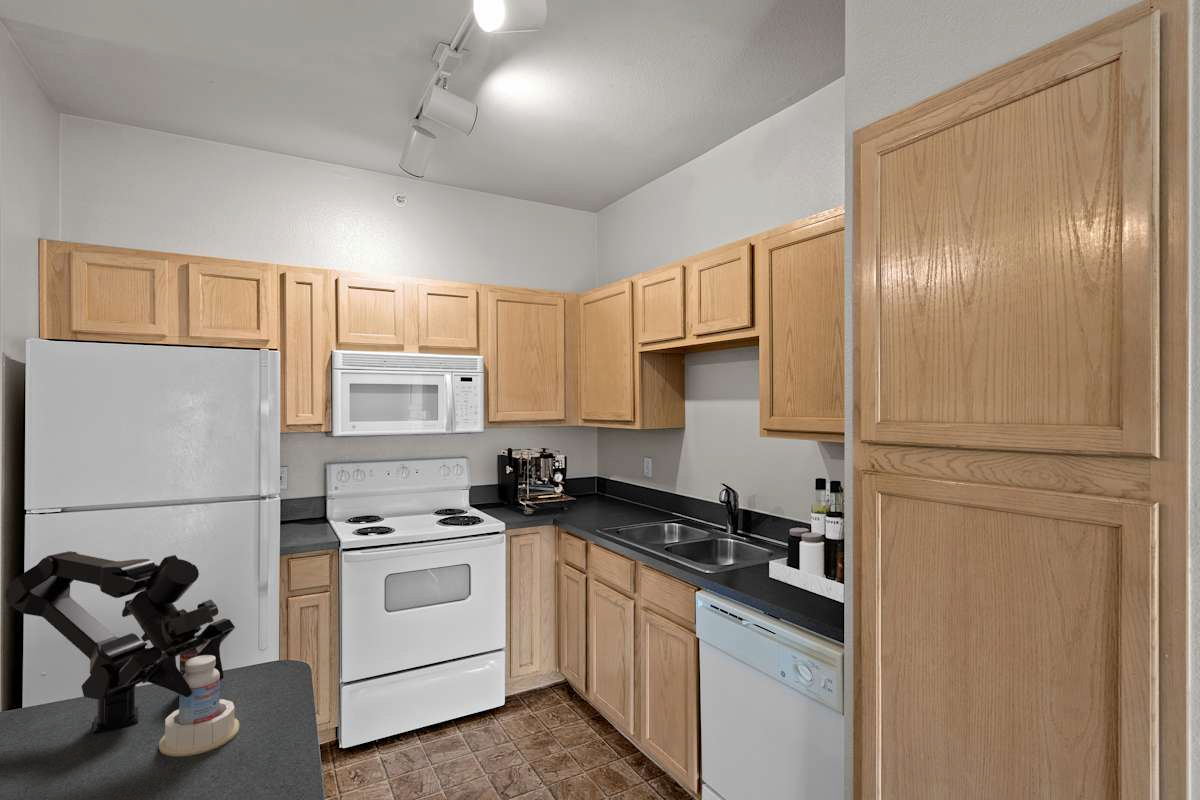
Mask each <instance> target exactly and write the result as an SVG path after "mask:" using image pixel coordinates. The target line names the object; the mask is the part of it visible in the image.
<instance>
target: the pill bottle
mask: <svg viewBox="0 0 1200 800" xmlns="http://www.w3.org/2000/svg"><path fill="white" fill-rule="evenodd" d="M215 664H216V658H215V656H212V655H202V656H197V657H194V658H191V659H189V660H187V661H186V663H185V672H186V674H185V675H183V678H184V679H185V681H186V682H187V684H188V685H189V687H190V689H191V691H192V694H191V695H190V696H189V697H185V696H182V695H180V694H178V695H179V702H178V705H179V706H178V709H179V724H180V725H193V724H199V723H202V722H206V721H210V720H212V719H214V718H216V717H218V716H219V699H220V686H221V682H220V673H219V671H218V670H217V669H215V668H214V667H215Z"/></svg>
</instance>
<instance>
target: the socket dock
mask: <svg viewBox="0 0 1200 800" xmlns="http://www.w3.org/2000/svg"><path fill="white" fill-rule="evenodd" d="M164 722H165V725H164V728H165V729H164V732H165V733H164V735H163V736H162V737H161V738H160V739H159V741H158V742H159V743H158V750H159V751H160V753H161V754H163V755H164V756H166V757H173V758H175V757H176V758H179V757H180V758H182V757H189V756H196V755H200V754H203V753H206V752H210V751H212V750H213V751H214V749H218V748H219V747H222V746H224V745H225V744H226V743H229V742H230V741H232V740H233V739H234V738H235V737H236V736H237V735H238V734H239V732H240V731H239V730H240V721H239V720H238V719H237V718H236V717H235V705H234V702H233V701H231V700H227V699H223V698H219V716H218V717H216V718H214V719H212V720H210V721H206V722H202V723H199V724H193V725H180V724H179V708H178V709H176V710H174V711H172V712H171V713H170V714H169V715H168V716H167V717H166V718H165V719H164Z"/></svg>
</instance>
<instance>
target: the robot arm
mask: <svg viewBox="0 0 1200 800" xmlns="http://www.w3.org/2000/svg"><path fill="white" fill-rule="evenodd" d="M199 575H200V572H199V569H198V567H197V566H196V565H195V564H193V563H192V562H190V561H188V560H185V559H181V558H178V557H177V555H176V554H174V555H173V554H171V555H169V556H166V557H164V558H163V559H162V560H161V562H160V563H159V565H158V564H155V561H153V560H152V559H149V558H138V559H137V558H136V559H127V560H121V561H120V560H119V561H117V560H116V561H115V560H111V559H105V558H101V557H95V556H90V555H85V554H80V553H78V552H76V551H72V550H71V551H65V552H58V553H55V554H54V553H53V554H50V555H47V556H45V557H44V558H42V559H41V560H40V561H39V562H38V563H37V564H36V565H34V566H33V567H31V568H29V569H28V570H26V571H25V572H23V573H21V574H20V575H18V576H17V577H16V578H15V579H14V580H13V581H12V582H11V583H10V585H9V586H8V587H7V588H6V590H5V593H4V596H5V600H6V603H8V604H9V605H10V607H11V608H13V609H15V610H17V611H18V612H20V613H22V615H27V616H28V615H30V616H36V617H41V618H43V619H44V620H45V621H47V622H48V623H49V624H50V625H51V626H52V627H53V628H55V630H57V631H58V632H59V633H60V634H61V635H62V636H63V637H65V639H66V640H68V641H69V642H70V643H71V644H72V645H74V647H76V648H77V649H78V650H79V651H80V652H81V653H83V654H84V655H85V656H86V657H87V658H88V659H89V674H90V675H89V676H88V678H87V679H85V681H84V682H83V683H82V685H81V691H82V695H83V697H84V698H88V699H91V700H92V699H94V700H96V716H95V717H94V720H93V721H94V722H93V734H96V733H97V734H98V733H101V732H104V731H109V730H113V729H117V728H120V727H126V726H128V725H133V724H136V723H138V722H139V707H138V706H136V701H137V698H136V696H137V694H136V692H137V690H136V688H137V685H138V684H141V683H142V684H145V683H150V684H152V685H156V686H158V687H162V688H164V689H167V690H170V691H171V692H173V693H176V694H178V695H179V694H180V695H182V696H185V697H189V696H190V695H191V694H192V691H191V689H190V687H189V685H188V684H187V682H186V681H185V679H184V678H183V676H182V674H181V673H180V669H179V668H178V667H177V660H176V659H177V658H176V657H177V656H180V654H182V653H185V652H187V651H189V650H192V649H194V648H195V649H196V650H197V651H198V653H199V654H198V655H197V656H202V655H212V656H215V658H216V664H215V667H214V668H215V669H217V670H218V671H219V673H220V681H222V680H223V679H224V672H223V665H222V660H221V651H220V647H221V644H222V642H224V640H225V639H227V637H228V636H229V635H230V634H231V633H232V632H233V630H234V629H235V628H236V627H235V624H233V623H234V622H232V621H231V619H229V618H223V619H220V620H217V621H214V617H216V616H217V615H218V614H219V609H218V606H217V604H216V603H215V602H214V601H213V600H212V599H208V600H205V601H202V602H201V603H198V604H197V606H196V607H197V608H196V609H194V610H191V611H187V610H186V609H184V608H182V609H179V610H178V609H177V608H176V606H175V604H174V603H176V602H179V600H180V599H181V598H182V597H183V595H185V593H186V592H187V591H188V590H189V589H190V588H191V587H192V586H193V584H194V583H195V582H196V581H197V580H198V578H199ZM74 581H77V582H82V583H85V584H86V583H87V584H92V585H97V586H98V587H99V589H100V590H99V591H101V593H103V594H105V595H107V596H110V597H112V598H114V599H119V598H122V597H126V596H129V595H133V594H135V595H134V596H133V598H131V599H129V600H126V601H125V602H124V607H123V609H122V613H121V616H122V617H123V618H127V617H128V616H131V615H132V616H133V617H134V619H135V620H136V622H137V624H138V625H139V626H140V628H141V630H142V631H143V632H144V633H143V634H142V636H141V637H140V638H141V639H142V640H141V639H140V638H139V636H138V635H137V634H135V633H132V632H131V633H128V634H125V635H123V636H119V637H118V636H116V635H115V634H114V633H113V632H111V631H110V630H109V628H107V627H106V626H105V625H103V624H102V623H101V622H100V621H98V619H96V617H94V616H93V615H92V614H91V613H90V612H88V610H87V609H85V608H83V606H81V604H79V603H78V602H77V601H75V600H74V599H73V597H71V595H70V592H71V584H72V583H73V582H74ZM206 624H208V625H207V626H206V627H205V628H204V629H203V631H202V632H201V633H200V635H198V634H199V632H200V631H201V630H202V627H201V626H203V625H206ZM195 635H198V636H196V637H195ZM147 641H148V642H150V643H151V644H152V647H150V648H149V647H148V643H147ZM187 645H188V646H187ZM197 656H196V657H197Z"/></svg>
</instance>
